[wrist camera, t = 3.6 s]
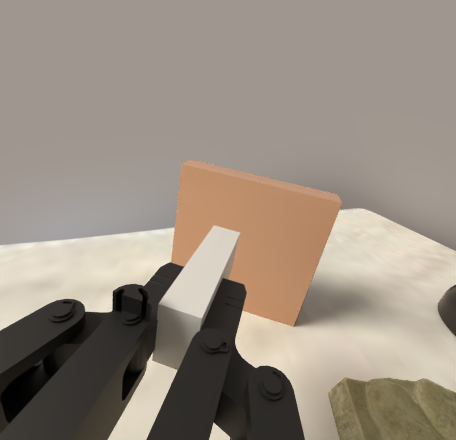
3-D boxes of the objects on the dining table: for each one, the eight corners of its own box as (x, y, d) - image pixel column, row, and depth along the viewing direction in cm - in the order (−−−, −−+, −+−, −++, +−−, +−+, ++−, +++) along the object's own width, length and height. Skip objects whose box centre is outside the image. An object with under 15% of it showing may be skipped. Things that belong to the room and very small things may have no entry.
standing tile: (293, 309, 30) (337, 193, 24) (293, 326, 27) (341, 203, 21) (178, 273, 32) (192, 159, 26) (168, 287, 29) (181, 164, 23)
